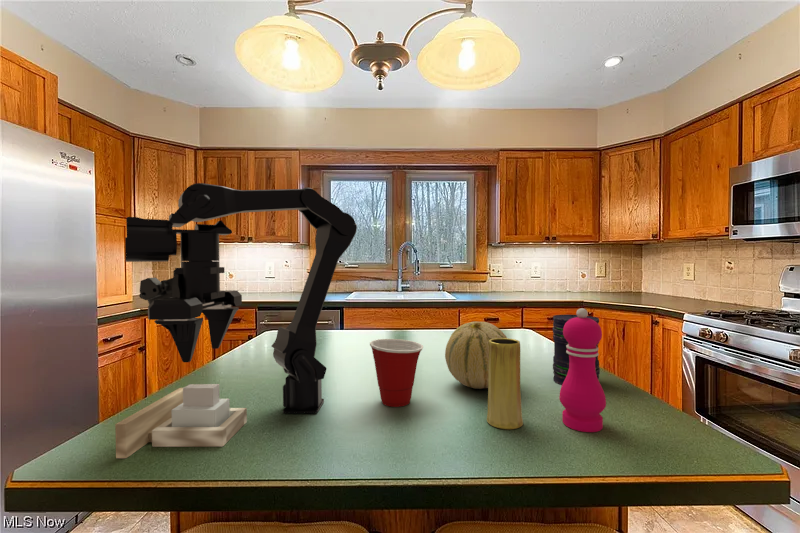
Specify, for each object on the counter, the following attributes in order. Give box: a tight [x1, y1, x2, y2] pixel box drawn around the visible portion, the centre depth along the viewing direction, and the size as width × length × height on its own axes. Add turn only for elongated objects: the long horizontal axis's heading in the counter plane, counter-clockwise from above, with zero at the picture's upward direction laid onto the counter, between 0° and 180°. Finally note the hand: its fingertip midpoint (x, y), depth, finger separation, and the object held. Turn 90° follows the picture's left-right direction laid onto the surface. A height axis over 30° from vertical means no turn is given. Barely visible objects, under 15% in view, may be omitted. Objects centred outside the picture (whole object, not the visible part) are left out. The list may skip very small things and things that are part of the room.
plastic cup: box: [369, 338, 424, 408], centre depth 77 cm, size 11×11×12 cm
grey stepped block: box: [172, 383, 231, 427], centre depth 64 cm, size 7×5×8 cm
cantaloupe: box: [444, 321, 508, 390], centre depth 86 cm, size 15×15×15 cm
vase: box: [486, 337, 524, 430], centre depth 67 cm, size 6×6×14 cm
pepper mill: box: [558, 307, 607, 433], centre depth 66 cm, size 7×7×20 cm
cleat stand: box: [114, 387, 248, 459], centre depth 64 cm, size 14×16×5 cm
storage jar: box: [552, 314, 601, 386], centre depth 89 cm, size 10×10×15 cm
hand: (202, 354), depth 64 cm, fingers open, 9 cm apart
